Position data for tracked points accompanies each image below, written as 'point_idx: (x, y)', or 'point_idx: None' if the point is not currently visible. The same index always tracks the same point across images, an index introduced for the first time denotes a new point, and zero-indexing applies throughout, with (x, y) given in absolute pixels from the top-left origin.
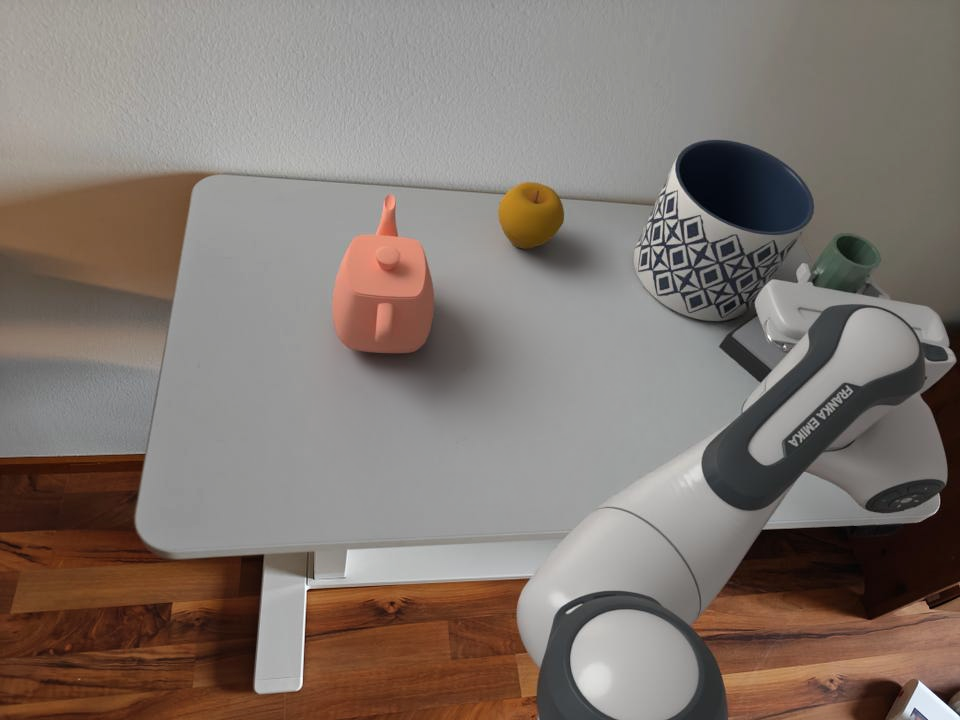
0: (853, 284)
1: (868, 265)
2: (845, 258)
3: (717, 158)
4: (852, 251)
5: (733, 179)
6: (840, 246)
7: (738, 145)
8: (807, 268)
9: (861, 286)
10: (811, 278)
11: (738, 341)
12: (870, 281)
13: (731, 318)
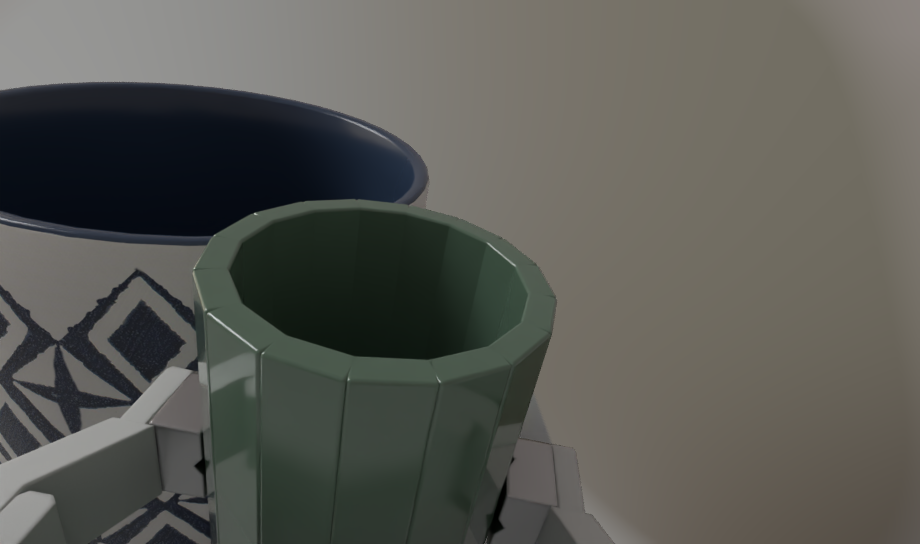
0: (357, 524)
1: (412, 361)
2: (230, 300)
3: (258, 142)
4: (448, 310)
5: (316, 199)
6: (382, 282)
7: (294, 105)
8: (157, 395)
9: (503, 520)
10: (182, 460)
11: None
12: (554, 488)
13: None
